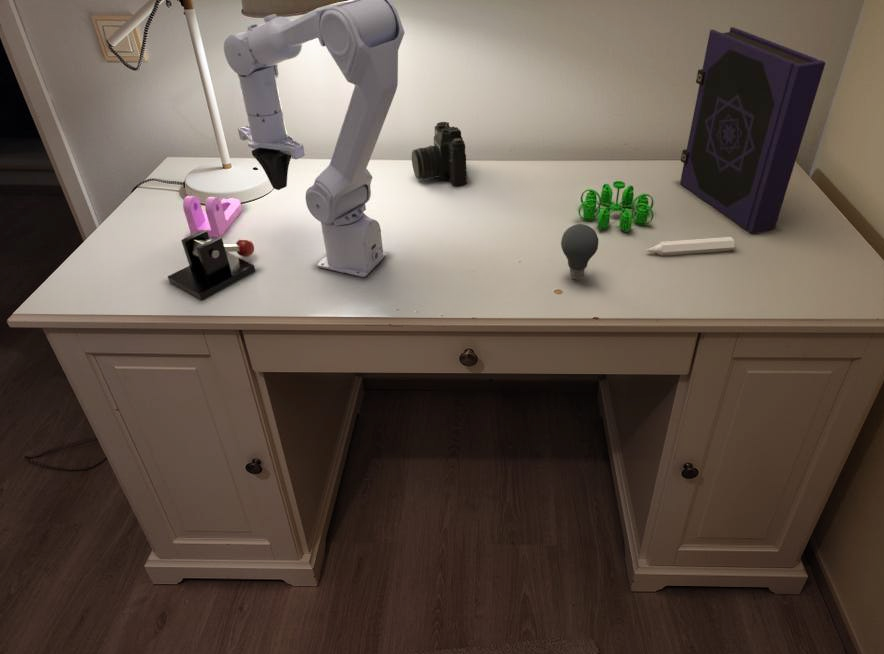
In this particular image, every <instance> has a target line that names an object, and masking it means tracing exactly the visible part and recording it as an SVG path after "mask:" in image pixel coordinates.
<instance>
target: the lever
mask: <svg viewBox="0 0 884 654" xmlns="http://www.w3.org/2000/svg"><path fill="white" fill-rule="evenodd" d="M209 241H211V239H210V240H194V244H193V254H194V255H196V256H198V252H197V249H196V247H198V246H200V245H202V244H204V243H207V242H209ZM223 244H224V243H223ZM224 247H225V251H226V252H228V253H230V252H231V253H233V252H235V253H236V254H237V255H239V256H240V257H242V258H247V257H250V256H252V255H253V253H254V252H255V245H254V242H253V241H252V240H251V239H249V238H240V239H238V240H237V241H236V243H234V244H231V243H229V244H226V243H225V244H224ZM198 257H199V256H198Z"/></svg>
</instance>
